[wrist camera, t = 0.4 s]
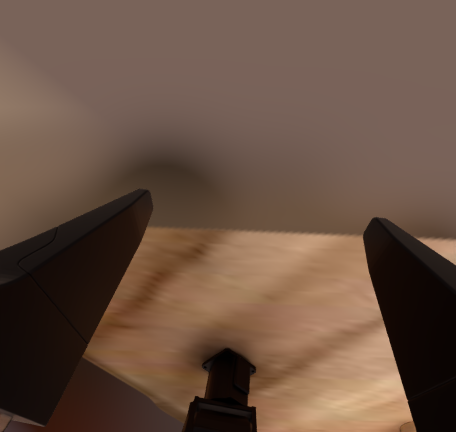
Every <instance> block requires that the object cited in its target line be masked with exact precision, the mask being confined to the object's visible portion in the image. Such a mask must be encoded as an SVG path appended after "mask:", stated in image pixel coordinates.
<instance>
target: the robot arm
mask: <svg viewBox="0 0 456 432" xmlns="http://www.w3.org/2000/svg"><path fill="white" fill-rule="evenodd" d="M152 211H153V203H152V198H151V193H150V191H149V190H146V189H138V190H135V191H133V192H131V193H129V194H127V195H124V196H122V197H120V198H118V199H116V200H114V201H112V202H109V203H107V204H105V205H103V206H100V207H98V208H96V209H94V210H92V211H90V212H87V213H85V214H83V215H81V216H79V217H76V218H74V219H72V220H70V221H68V222H66V223H63V224H61V225H59V226H58V227H54V228H52V229H50V230H48V231H46V232H44V233H41V234H39V235H37V236H35V237H32V238H30V239H27V240H25V241H23V242H20V243H18V244H15V245H13V246H10V247H8V248H5V249H3V250H0V432H4V430H5V429H6V428H7V426H8V424H9V423H10V421H11V420H15V421H20V422H25V423H30V424H35V425H39V426H46V425H47V423H48V421H49V419H50V418H51V416H52V414H53V412H54V410H55V408H56V406H57V404H58V402H59V400H60V398H61V396H62V395H63V393H64V391H65V389H66V387H67V385H68V383H69V381H70V379H71V377H72V375H73V373H74V371H75V369H76V367H77V365H78V363H79V362H80V359H81V358H82V356H83V354H84V352H85V350H86V348H87V346H88V345H87V344H89V342H90V340H91V338H92V336H93V334H94V332H95V330H96V328H97V326H98V324H99V322H100V320H101V318H102V317H103V315H104V313H105V311H106V309H107V307H108V305H109V303H110V301H111V299H112V297H113V295H114V293H115V291H116V289H117V287H118V285H119V284H120V282H121V280H122V278H123V276H124V274H125V272H126V270H127V268H128V266H129V264H130V262H131V260H132V258H133V256H134V254H135V252H136V251H137V249H138V247H139V245H140V243H141V240H142V238H143V236H144V233H145V230H146V227H147V225H148V222H149V219H150V217H151V214H152ZM363 240H364V246H365V252H366V258H367V264H368V269H369V274H370V277H371V281H372V284H373V287H374V291H375V294H376V297H377V301H378V304H379V307H380V311H381V314H382V317H383V321H384V324H385V327H386V331H387V334H388V337H389V341H390V344H391V347H392V351H393V354H394V357H395V361H396V364H397V367H398V371H399V374H400V377H401V381H402V384H403V387H404V391H405V394H406V397H407V400H408V405H409V408H410V411H411V415H412V418H413V421H414V425H415V428H416V431H417V432H456V265H454V264H453V263H451V262H450V261H449V260H447V259H446V258H444V257H443V256H441V255H440V254H438V253H437V252H435V251H434V250H432V249H431V248H429V247H428V246H426V245H425V244H423V243H422V242H420V241H419V240H417V239H416V238H414V237H413V236H411V235H410V234H408V233H407V232H405V231H404V230H402V229H401V228H399V227H398V226H396V225H395V224H393V223H392V222H391V221H389V220H388V219H386V218H379V217H375V218H373V219H372V220H371V221H370V223H369V225H368V226H367V228H366V230H365V231H364V234H363ZM202 368H203V369H205V370H206V371H208V372H209V376H208V381H207V386H206V392H205V397H204V398H199V397H198V396H195V399H194V401H193V402H191V403H190V406H189V410H188V414H187V418H186V421H185V423H184V426H183V429H182V432H257V424H256V407H253V406H252V407H249V406H248V394H249V385H250V376H251V375H252V374H254V373H256V368H255V367H254V366H252V365H251V364H249V363H248V362H247V361H245V360H244V359H242V358H241V357H240V356H238V355H237V354H235V353H234V352H233V351H231V350H230V349H225V350H223V351H221V352H220V353H218V354H217V355H215V356H214V357H212V358H211V359H209V360H208V361H206V362H205V363H203V365H202Z"/></svg>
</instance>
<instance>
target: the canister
mask: <svg viewBox="0 0 456 432" xmlns="http://www.w3.org/2000/svg"><path fill="white" fill-rule="evenodd" d="M400 431H401V432H417V431H416V428H415V425H414V422H409V423H406V424H404V425H402V426H401V428H400Z"/></svg>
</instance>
